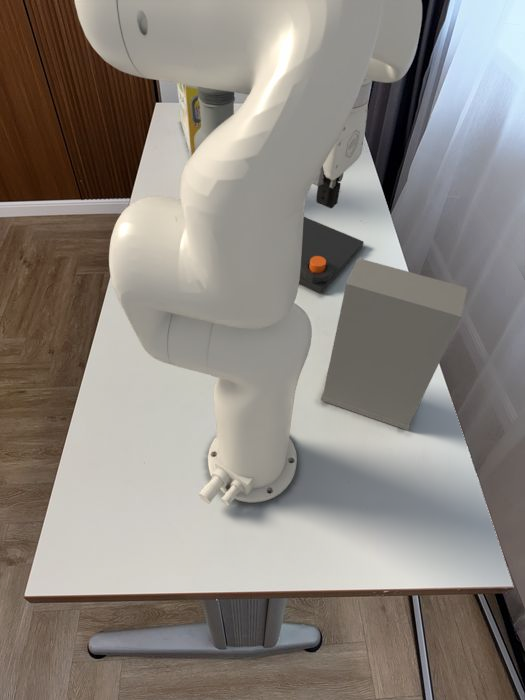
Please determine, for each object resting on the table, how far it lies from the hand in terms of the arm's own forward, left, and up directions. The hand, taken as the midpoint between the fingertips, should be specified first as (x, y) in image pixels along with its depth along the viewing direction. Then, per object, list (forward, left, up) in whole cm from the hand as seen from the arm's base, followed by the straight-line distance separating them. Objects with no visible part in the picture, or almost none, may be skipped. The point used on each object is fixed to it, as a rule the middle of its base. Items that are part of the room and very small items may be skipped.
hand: (326, 203), depth 84 cm
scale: (+5, +5, -17) cm, 19 cm away
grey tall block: (-20, -21, -17) cm, 33 cm away
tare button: (0, 0, -14) cm, 14 cm away
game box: (+27, +51, -17) cm, 61 cm away
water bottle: (+10, +31, -17) cm, 37 cm away
